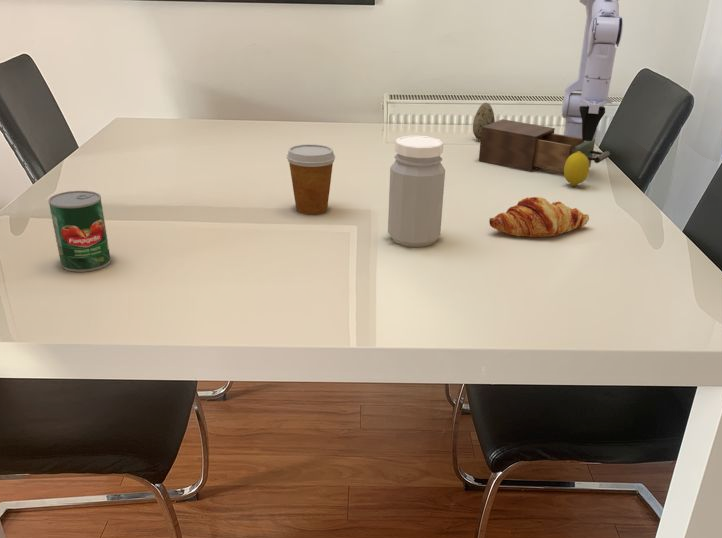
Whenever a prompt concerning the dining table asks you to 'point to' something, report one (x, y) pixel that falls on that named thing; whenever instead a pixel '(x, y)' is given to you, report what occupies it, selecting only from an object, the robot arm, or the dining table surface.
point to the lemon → (576, 168)
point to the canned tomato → (80, 230)
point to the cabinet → (511, 143)
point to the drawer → (563, 151)
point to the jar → (416, 191)
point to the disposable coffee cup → (311, 176)
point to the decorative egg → (482, 119)
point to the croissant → (538, 218)
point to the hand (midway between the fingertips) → (587, 140)
